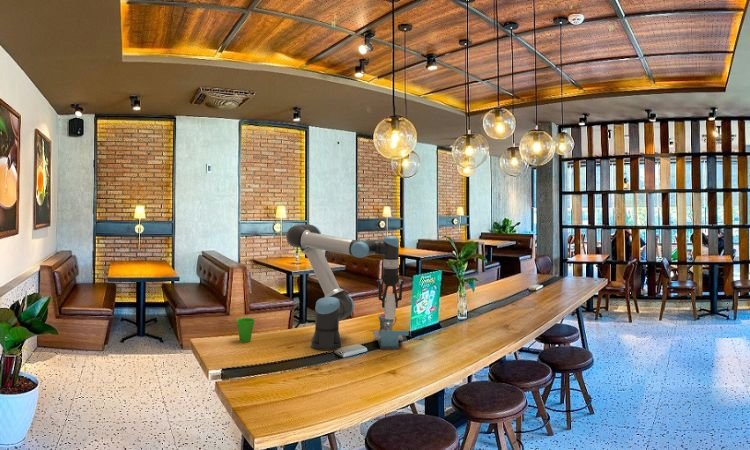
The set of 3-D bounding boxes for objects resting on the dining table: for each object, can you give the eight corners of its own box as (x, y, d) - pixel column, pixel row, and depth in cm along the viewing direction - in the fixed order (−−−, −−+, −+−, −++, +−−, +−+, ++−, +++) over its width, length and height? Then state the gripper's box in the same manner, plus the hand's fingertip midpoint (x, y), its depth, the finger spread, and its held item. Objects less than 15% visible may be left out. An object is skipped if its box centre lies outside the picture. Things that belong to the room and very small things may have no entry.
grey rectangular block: (385, 319, 234) (386, 295, 233) (385, 317, 238) (385, 293, 237) (394, 319, 234) (394, 295, 233) (393, 317, 238) (393, 293, 237)
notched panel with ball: (375, 349, 232) (376, 327, 231) (372, 339, 248) (373, 319, 248) (408, 349, 233) (408, 327, 232) (403, 339, 249) (404, 319, 249)
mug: (385, 338, 251) (385, 318, 251) (373, 334, 258) (374, 315, 258) (401, 334, 259) (402, 315, 259) (390, 330, 266) (390, 312, 266)
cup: (258, 341, 239) (258, 320, 238) (242, 345, 232) (242, 323, 232) (248, 337, 245) (248, 316, 245) (232, 341, 238) (232, 319, 238)
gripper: (374, 268, 230) (373, 315, 231) (408, 268, 232) (407, 316, 233) (373, 266, 238) (372, 312, 239) (406, 266, 239) (405, 312, 240)
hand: (389, 314), depth 236 cm, fingers closed on grey rectangular block, 4 cm apart
